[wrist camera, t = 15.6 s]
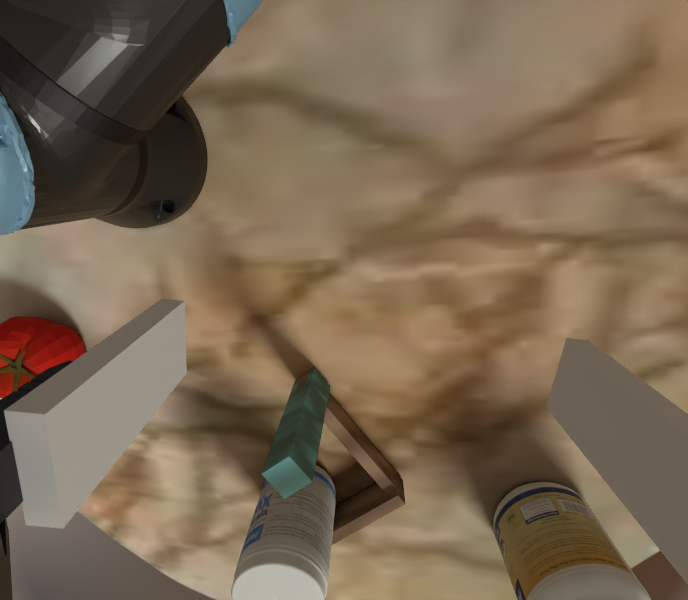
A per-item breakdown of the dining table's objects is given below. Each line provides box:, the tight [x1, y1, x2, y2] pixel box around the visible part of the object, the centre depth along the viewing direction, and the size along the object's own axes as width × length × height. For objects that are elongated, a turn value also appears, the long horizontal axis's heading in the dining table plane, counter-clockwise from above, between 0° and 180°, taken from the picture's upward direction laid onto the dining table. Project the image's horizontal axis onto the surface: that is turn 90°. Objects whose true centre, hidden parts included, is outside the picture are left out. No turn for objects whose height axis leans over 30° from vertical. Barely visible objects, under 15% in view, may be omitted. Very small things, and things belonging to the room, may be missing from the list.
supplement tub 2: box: [493, 482, 651, 600], centre depth 45 cm, size 12×12×17 cm
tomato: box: [0, 316, 87, 398], centre depth 47 cm, size 10×11×7 cm
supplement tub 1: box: [231, 465, 336, 600], centre depth 47 cm, size 10×10×15 cm
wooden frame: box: [262, 368, 405, 545], centre depth 44 cm, size 19×19×16 cm
